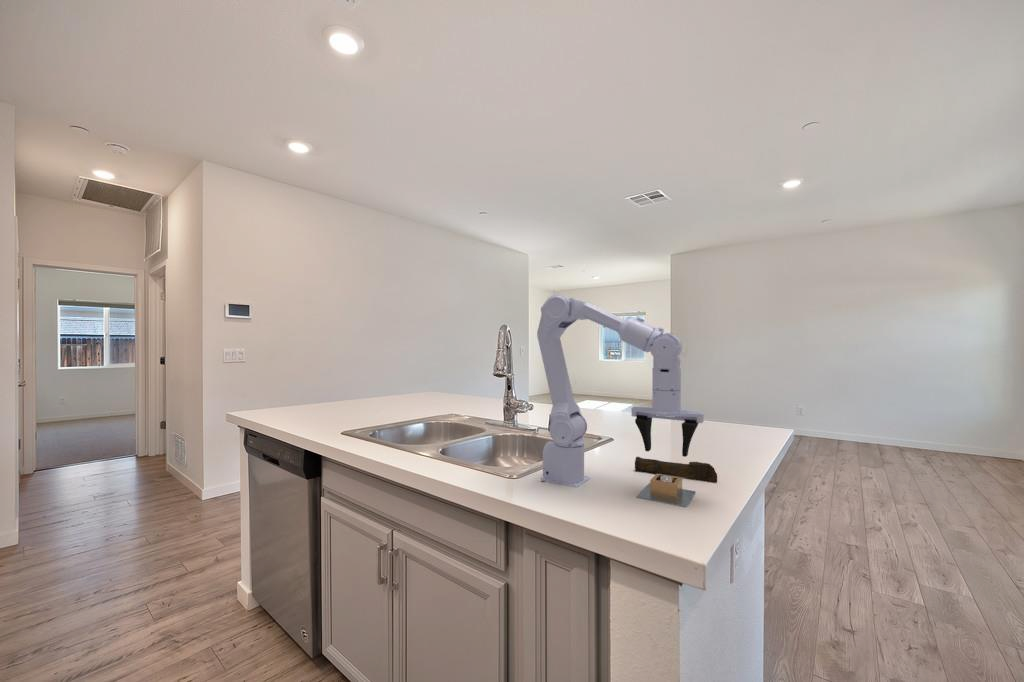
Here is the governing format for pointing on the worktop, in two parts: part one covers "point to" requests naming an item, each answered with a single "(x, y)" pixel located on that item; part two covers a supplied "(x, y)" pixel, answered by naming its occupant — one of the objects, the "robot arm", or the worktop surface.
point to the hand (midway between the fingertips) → (666, 452)
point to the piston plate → (681, 501)
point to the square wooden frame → (666, 487)
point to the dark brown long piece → (678, 469)
